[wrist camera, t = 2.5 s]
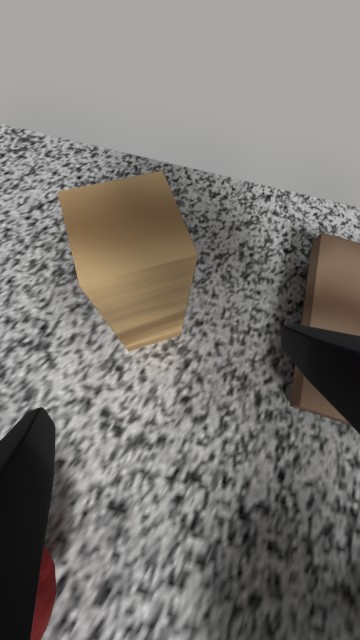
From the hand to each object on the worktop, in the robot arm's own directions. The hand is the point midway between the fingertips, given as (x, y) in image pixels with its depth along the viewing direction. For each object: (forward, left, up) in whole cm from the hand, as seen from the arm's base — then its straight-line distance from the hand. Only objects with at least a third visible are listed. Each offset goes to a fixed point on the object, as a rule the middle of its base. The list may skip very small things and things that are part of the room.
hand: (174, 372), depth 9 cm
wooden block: (+6, -4, -13) cm, 15 cm away
